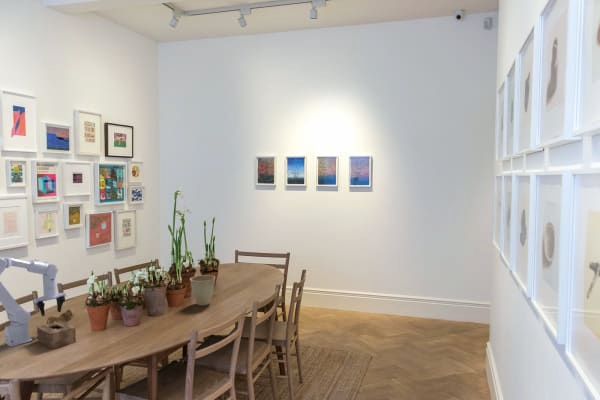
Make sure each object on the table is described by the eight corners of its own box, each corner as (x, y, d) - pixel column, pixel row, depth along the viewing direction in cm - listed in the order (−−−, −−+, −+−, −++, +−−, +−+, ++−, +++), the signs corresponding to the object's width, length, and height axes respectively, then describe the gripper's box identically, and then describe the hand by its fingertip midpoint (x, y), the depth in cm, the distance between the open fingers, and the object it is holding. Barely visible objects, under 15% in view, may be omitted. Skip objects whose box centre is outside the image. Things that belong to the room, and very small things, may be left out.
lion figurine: (74, 323, 237) (74, 307, 236) (75, 326, 232) (74, 309, 232) (43, 328, 229) (42, 311, 229) (43, 331, 225) (42, 314, 224)
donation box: (51, 348, 202) (50, 334, 201) (37, 341, 212) (37, 326, 212) (75, 341, 210) (75, 327, 210) (61, 334, 221) (61, 320, 220)
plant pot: (186, 306, 263) (185, 280, 262) (197, 299, 278) (197, 274, 277) (209, 308, 260) (208, 281, 259) (219, 300, 274) (219, 275, 273)
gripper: (37, 291, 215) (38, 319, 216) (68, 285, 226) (69, 311, 227) (31, 289, 220) (33, 316, 220) (62, 283, 231) (63, 309, 231)
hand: (51, 313), depth 224 cm, fingers open, 7 cm apart
